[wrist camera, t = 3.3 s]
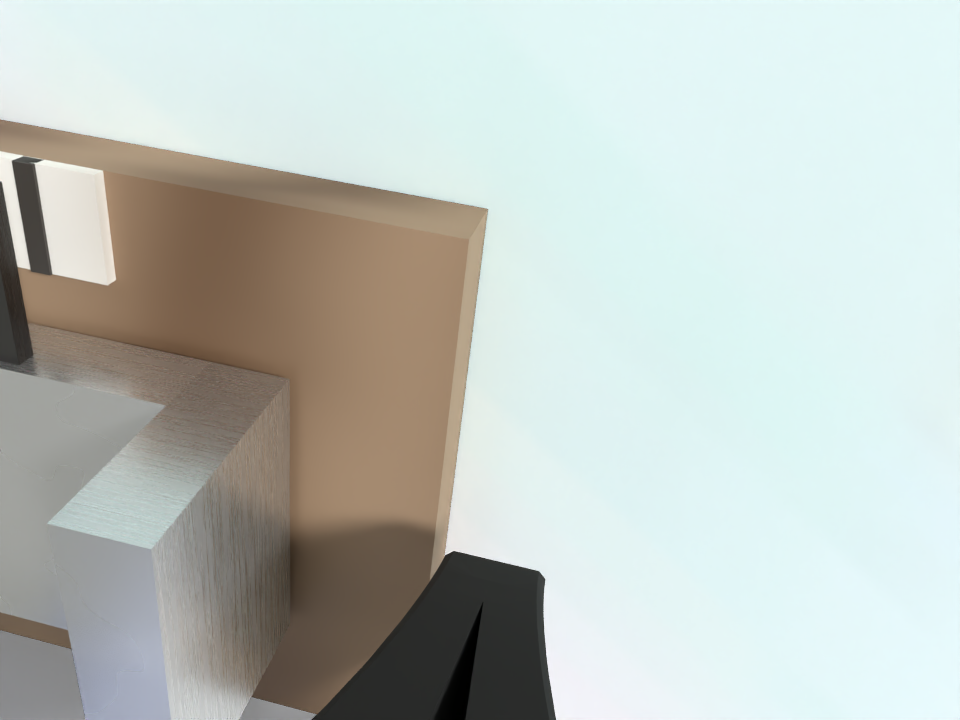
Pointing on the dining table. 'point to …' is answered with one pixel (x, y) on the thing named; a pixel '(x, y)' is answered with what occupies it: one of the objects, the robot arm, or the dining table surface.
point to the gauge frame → (277, 350)
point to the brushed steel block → (142, 514)
